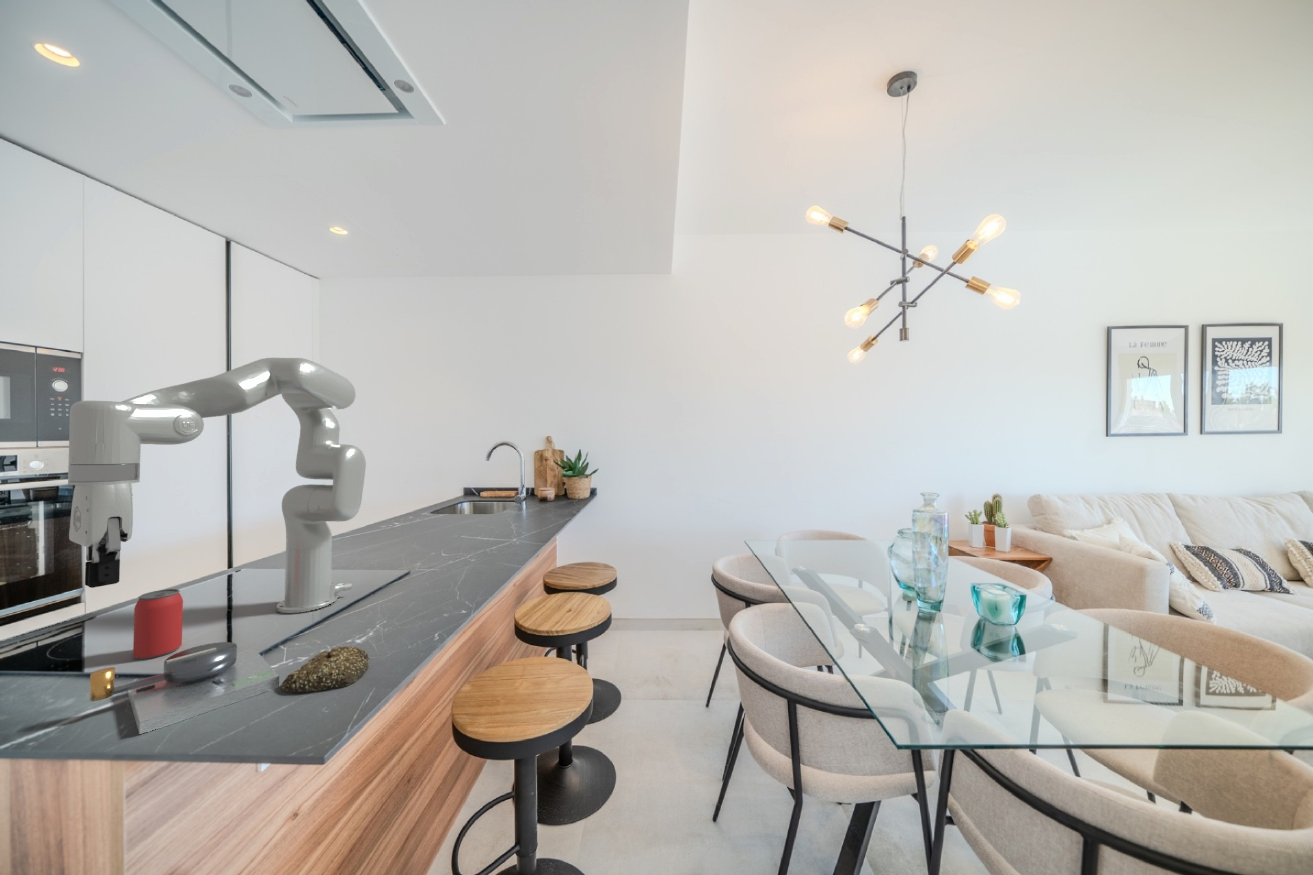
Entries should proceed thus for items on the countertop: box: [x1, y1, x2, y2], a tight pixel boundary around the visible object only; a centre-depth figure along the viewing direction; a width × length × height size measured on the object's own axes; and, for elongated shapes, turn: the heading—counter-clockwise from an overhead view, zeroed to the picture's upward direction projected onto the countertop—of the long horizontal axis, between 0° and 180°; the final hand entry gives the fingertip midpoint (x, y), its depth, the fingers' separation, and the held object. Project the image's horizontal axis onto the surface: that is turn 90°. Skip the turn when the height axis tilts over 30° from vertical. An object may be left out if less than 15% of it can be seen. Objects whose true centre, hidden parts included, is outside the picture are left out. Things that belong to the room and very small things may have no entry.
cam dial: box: [89, 641, 238, 702], centre depth 75 cm, size 17×9×4 cm, turn 144°
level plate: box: [127, 647, 280, 735], centre depth 76 cm, size 16×17×3 cm
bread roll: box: [280, 645, 370, 693], centre depth 82 cm, size 13×12×5 cm
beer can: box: [132, 588, 184, 660], centre depth 89 cm, size 7×7×12 cm
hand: (102, 583), depth 74 cm, fingers closed
